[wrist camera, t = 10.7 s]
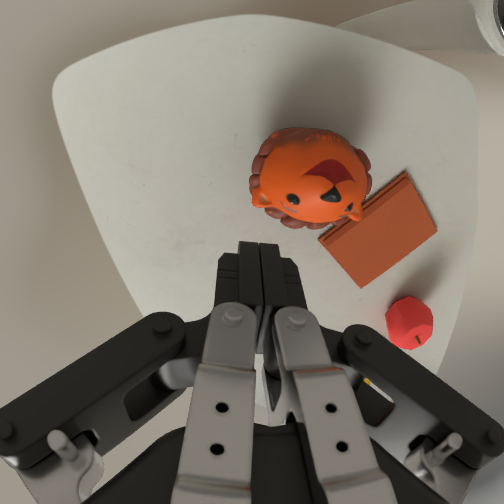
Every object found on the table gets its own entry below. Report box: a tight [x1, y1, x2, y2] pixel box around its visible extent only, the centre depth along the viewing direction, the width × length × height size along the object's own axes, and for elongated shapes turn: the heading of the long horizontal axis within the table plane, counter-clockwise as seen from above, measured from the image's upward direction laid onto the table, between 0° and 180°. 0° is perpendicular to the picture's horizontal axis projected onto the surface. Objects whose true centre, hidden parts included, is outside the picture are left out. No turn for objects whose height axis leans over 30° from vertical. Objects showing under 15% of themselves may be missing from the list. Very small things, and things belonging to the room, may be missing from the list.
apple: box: [385, 296, 433, 350], centre depth 44 cm, size 8×8×8 cm
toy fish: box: [249, 128, 372, 230], centre depth 30 cm, size 12×10×11 cm
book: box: [318, 172, 437, 288], centre depth 40 cm, size 14×11×1 cm
